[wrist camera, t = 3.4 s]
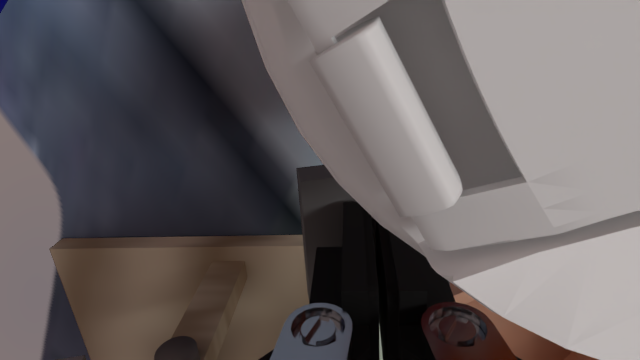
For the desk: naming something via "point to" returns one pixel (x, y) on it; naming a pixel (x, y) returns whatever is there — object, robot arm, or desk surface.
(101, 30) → the desk surface
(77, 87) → the desk surface
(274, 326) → the stand
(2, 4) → the cable holder
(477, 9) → the coffee cup
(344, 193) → the lever tray
